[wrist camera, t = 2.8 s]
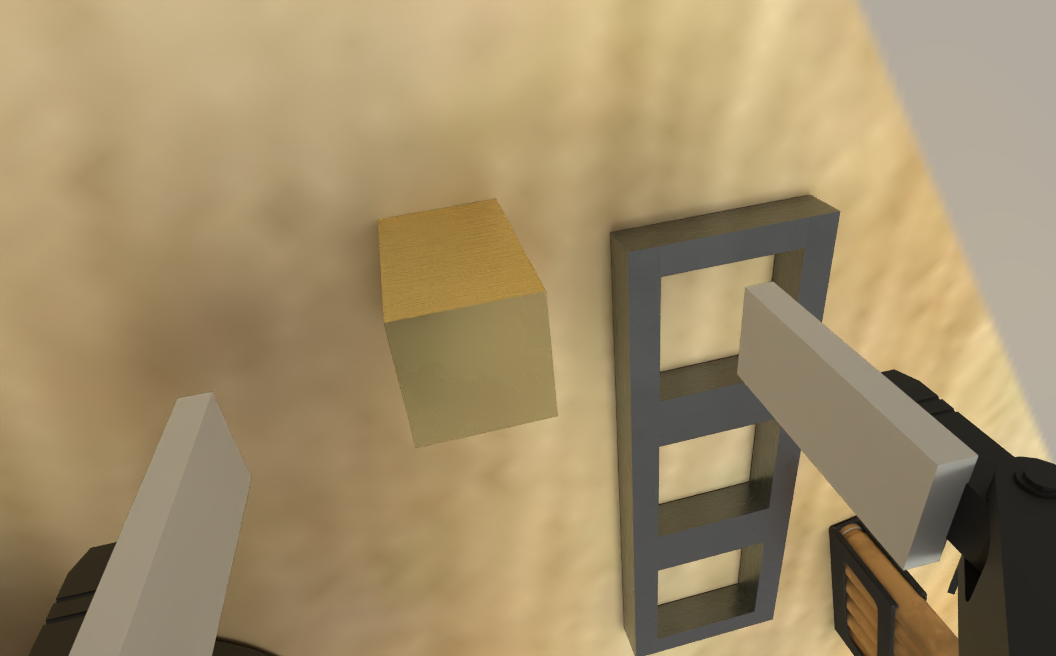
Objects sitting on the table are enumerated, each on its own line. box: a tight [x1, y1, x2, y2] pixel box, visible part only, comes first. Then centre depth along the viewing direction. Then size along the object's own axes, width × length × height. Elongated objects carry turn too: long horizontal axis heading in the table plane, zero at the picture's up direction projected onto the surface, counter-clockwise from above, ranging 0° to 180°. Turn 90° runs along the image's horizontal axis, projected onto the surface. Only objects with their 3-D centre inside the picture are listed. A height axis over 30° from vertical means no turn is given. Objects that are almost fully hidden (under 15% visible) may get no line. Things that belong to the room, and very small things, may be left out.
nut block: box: [378, 199, 558, 448], centre depth 20 cm, size 4×4×7 cm
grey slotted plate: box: [610, 195, 840, 656], centre depth 29 cm, size 8×24×2 cm, turn 6°
